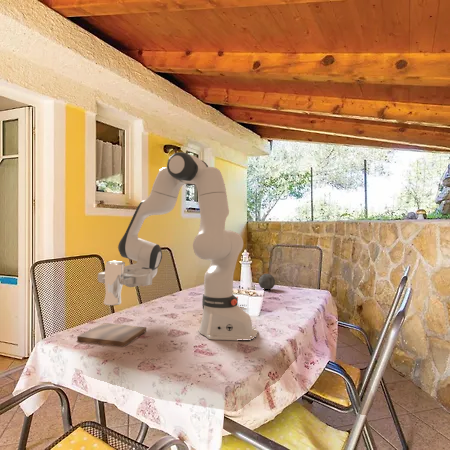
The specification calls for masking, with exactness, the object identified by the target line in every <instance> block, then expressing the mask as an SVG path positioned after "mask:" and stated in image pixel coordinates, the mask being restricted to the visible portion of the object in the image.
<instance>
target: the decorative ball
mask: <svg viewBox="0 0 450 450" xmlns="http://www.w3.org/2000/svg"><path fill="white" fill-rule="evenodd" d="M275 280H276V279H275V277H274V276H273V275H271V274H270V273H264V274H262V275H260V277H259V279H258V285H259V287H260V288H261V289H262V288H264V289H270V290H271V289H273V288H274V286H275V284H276V281H275ZM264 289H263V290H264Z"/></svg>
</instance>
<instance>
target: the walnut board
mask: <svg viewBox="0 0 450 450" xmlns="http://www.w3.org/2000/svg"><path fill="white" fill-rule="evenodd" d="M146 332H147V327H146V326H138V325H128V324H127V325H126V324H120V323H119V324H118V323H109V322H103V323H101V324H99V325H97V326H95V327H94V328H92V329H89V330H87V331H85V332H83V333H81V334H79V335H78V336H77V337H76V338H77V339H76V340H77V341H78V342H86V343H94V344H101V345H110V346H118V347H126V346H127V345H128V344H130V343H131V342H133V341H134V340H135V339H137V338H139V337H140V336H141V335H143V334H144V333H146Z"/></svg>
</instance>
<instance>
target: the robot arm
mask: <svg viewBox="0 0 450 450" xmlns="http://www.w3.org/2000/svg"><path fill="white" fill-rule="evenodd" d="M184 185H186V186H195V187H196V190H197V197H198V198H197V199H198V205H199V212H200V215H199V217H200V219H199V220H200V222H199V223H200V224H199V228H198V232H197V235H196V236H195V237H194V239H193V242H192V250H193V253H194V254H195V256H196V257H197V258H198V259H201V260H206V261H210V263H209V266H208V268H207V270H206V271H205V273H204V277H203V278H204V280H203V281H204V283H203V286H204V288H203V294H202V303H201V305H202V317H201V322H200V326H199V330H198V332H199V334H201V335H202V336H205V337H206V338H207V339H208V340H216V341H238V340H237V339H242V340H243V339H252V338H253V337H255V336H256V334H257V332H258V329H257V328H256V327H255V326H253V323H252V317H251V316H250V314H249V313H247V312H246V311H245V310H244V309H243V308H241V307H240V306H239V305H238V300H239V299H238V298H239V296H235V295H234V293H233V290H234V274H235V269H236V265H237V261H238V258H239V255H240V254H241V252H242V250H243V248H244V240H243V237H242V236H241V234H240V233H238V232H236V231H234V230H229V229H226V221H227V217H228V216H229V213H230V210H229V202H228V197H227V196H228V195H227V191H226V190H227V189H226V184H225V181H224V177H223V174H222V172H221V170H220V169H219V168H217V167H214V166H209V165H208V164H207V163H206V162H205V161H204V160H202V159H200V158H198V157H197V156H195V155H192V154H190V153H189V154H188V153H186V152H182V151H180V152H175V153H173V154H172V155H170V156H169V158H168V160H167V163H166V166H165V167H162V168H160V169H159V171H158V173H157V174H156V177H155V179H154V182H153V184H152V187H151V191H150V193H149V195H148V196H147V198H146V199H144V200H141V201H140V203H139V204H138V205H137V207H136V209H135V211H134V213H133V215H132V218H131V220H130V222H129V224H128V227H127V229H126V231H125V232H124V234H123V235H122V238H121V239H120V241H119V243H118V245H117V248H118V252H119V255H120V257H121V258H125V259H128V260H132V261H134V262H135V263H132V264H128V265H125V277H124V279H123V280H121V285H123V286H124V285H125V286H126V287H128V288H134V287H140V286H142V287H143V286H144V287H146V286H151V285H152V284H153V279H154V278H155V277H156V276H157V273H158V269H159V268H158V267H159V266H160V265H161V262H162V259H163V252H162V248H161V246H160V245H159V244H157V243H155V242H152V241H149V240H146V239H143V238H140V237H139V232H140V231H141V228H142V226H143V225H144V221H145V220H146V219H147V218H148V217H151V216H162V215H166V214H169V213H170V212H172V211H173V210H174V208H175V206H176V203H177V201H178V197H179V193H180V190H181V188H182V186H184ZM97 282H98V283H101V284H105V271H102V272H98V273H97ZM254 329H256V330H254ZM257 335H258V334H257ZM250 336H252V337H250ZM256 337H257V336H256Z"/></svg>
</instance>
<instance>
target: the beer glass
mask: <svg viewBox="0 0 450 450" xmlns="http://www.w3.org/2000/svg"><path fill="white" fill-rule="evenodd" d="M105 263H106V264H105V269H104V272H105V283H104V286H105V287H104V288H105V295H104V299H103V304H104V305H105V306H119V305H121V304H122V290H123V286H124V285H121V280H123V279H124V277H125V266H126V261H122V260H121V261H120V260H108V261H106V262H105Z"/></svg>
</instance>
